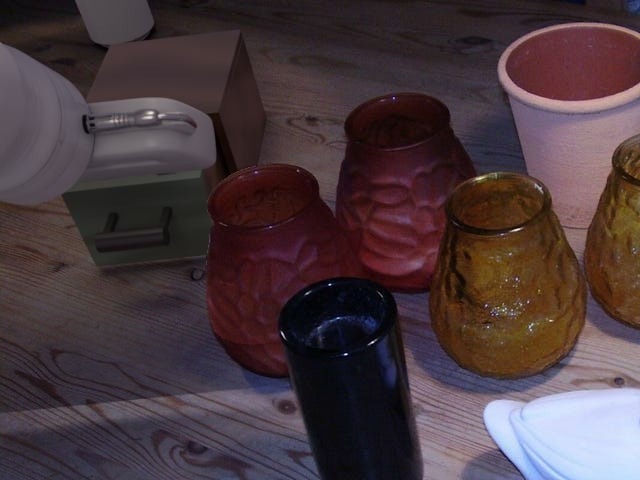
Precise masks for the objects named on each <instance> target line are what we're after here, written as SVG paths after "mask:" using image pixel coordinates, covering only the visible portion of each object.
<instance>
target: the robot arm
mask: <svg viewBox="0 0 640 480" xmlns="http://www.w3.org/2000/svg"><path fill="white" fill-rule="evenodd" d="M215 162H216V143H215V134H214V127H213V123H212V120H211V118H210V117H209V116H208V115H206V114H205V113H203V112H201V111H199V110H197V109H195V108H193V107H191V106H189V105H187V104H184V103H182V102H179V101H176V100H172V99H168V98H156V97H151V98H136V99H126V100H117V101H107V102H98V103H89V104H87V103H86V99H85V98H84V96H83V95H82V93H81V92H80V91H79V89H78V88H77V87H76V86H75V85H74V84H73V82H71V81H70V80H69V79H68V78H66V77H65V76H63V75H61V74H60V73H58V72H57V71H55V70H53V69H51V68H50V67H48V66H47V65H45V64H43V63H42V62H40V61H38V60H36V59H35V58H33V57H31V56H30V55H28V54H26V53H25V52H23V51H21V50H19V49H18V48H15V47H12V46H10V45H7V44H5V43H4V44H3V42H1V41H0V201H1V202H3V203H8V204H13V205H16V206H17V205H20V206H32V205H40V204H44V203H47V202H49V201H52V200H54V199H56V198H58V197H60V196H61V195H62V194H63V193H65V192H66V191H67V190H69V189H70V188H71V187H72V186H73V185H74V184H75V183H79V182H86V181H96V180H105V179H115V178H125V177H134V176H144V175H154V174H156V175H169V174H176V173H177V172H183V171H192V170H202V169H207V168H209V167H211V166H212V165H214V164H215Z"/></svg>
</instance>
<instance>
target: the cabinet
mask: <svg viewBox="0 0 640 480" xmlns="http://www.w3.org/2000/svg"><path fill="white" fill-rule="evenodd" d="M151 97H156V98H168V99H172V100H176V101H179V102H182V103H184V104H187V105H189V106H191V107H193V108H195V109H197V110H199V111H201V112H203V113H205V114H206V115H208V116H209V117H210V118H211V120H212V122H213V125H214V128H215V131H216V134H217V137H218V140H219V143H220V145H221V148H222V151H223V154H224V157H225V160H226V163H227V166H228V169H229V172H230V175H231V174H233V173H235V172H237V171H240V170H242V169H245V168H248V167H252V166H255V165H257V166H258V160H259V156H260V151H261V146H262V141H263V137H264V130H265V127H266V121H267V114H266V111H265V107H264V104H263V101H262V97H261V93H260V89H259V86H258V83H257V80H256V77H255V73H254V70H253V67H252V63H251V59H250V55H249V53H248V50H247V45H246V43H245V39H244V35H243V33H242V30H241V29H232V30H224V31H215V32H205V33H197V34H189V35H180V36H171V37H163V38H156V39H155V38H154V39H147V40H141V41H137V42H128V43H120V44H111V45H110V47H109V48H108V49H107V52H106V54H105V56H104V59H103V60H102V63H101V65H100V67H99V69H98V72H97V74H96V77H95V79H94V80H93V82H92V85H91V87H90V90H89V92H88V94H87V95H86V99H85V101H86V103H87V104H89V103H98V102H107V101H117V100H126V99H136V98H151Z"/></svg>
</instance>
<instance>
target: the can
mask: <svg viewBox="0 0 640 480" xmlns="http://www.w3.org/2000/svg"><path fill="white" fill-rule="evenodd" d="M74 2H75V3H76V4H75V5H76V6H77V8H78V11H79V13H80V16H81V19H82V21H83V23H84V26H85V28H86V31H87V34H88V36H89V38H90V40H91V41H93V42H94V43H95V44H98V45H101V46H102V47H105V48H108V49H109V47H110V45H111V44H120V43H128V42H137V41H144V40H145V39H146V38H147V37H148V36H149V35H150V32H151V30H152V29H153V27H154V24H155V20H154V17H153V15H152V11H151V8H150V6H149V3H148V0H74Z"/></svg>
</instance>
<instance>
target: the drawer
mask: <svg viewBox="0 0 640 480" xmlns="http://www.w3.org/2000/svg"><path fill="white" fill-rule="evenodd" d="M212 123H213V122H212ZM213 127H214V125H213ZM214 134H215V143H216V162H215V164H214V165H212V166H211V167H209V168H207V169H202V170H192V171H183V172H177V173H176V174H169V175H156V174H154V175H144V176H134V177H125V178H115V179H105V180H96V181H86V182H76V183H75V184H74V185H73V186H72V187H71V188H70V189H69V190H67V191H66V192H65V193H63V194H62V195H60V196H61V198H62V200H63V202H64V204H65V206H66V208H67V210H68V212H69V214H70V216H71V218H72V220H73V222H74V225H75V226H76V228H77V231H78V232H79V234H80V237H81V238H82V241H83V242H84V244H85V247H86V249H87V251H88V253H89V255H90V257H91V259H92V262H93V263H94V265H95V267H96V268H98V267H99V268H100V267H107V266H117V265H126V264H127V265H128V264H137V263H144V262H154V261H163V260H164V261H165V260H173V259H180V258H181V259H182V258H191V257H201V256H208V255H207V250H208V245H209V234H210V229H211V227H212V225H213V223H212V221H211V218H210V216H209V214H208V212H207V200H208V197H209V195H210V194H211V192H212V191H213V189H214V188H215V187H216V186H217V185H218V184H219V183H220V182H221V181H222V180H224V179H225V178H227V177H228V176H229V175H230V172H229V169H228V166H227V163H226V160H225V157H224V154H223V151H222V148H221V145H220V143H219V140H218V137H217V134H216V131H215V128H214Z"/></svg>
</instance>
